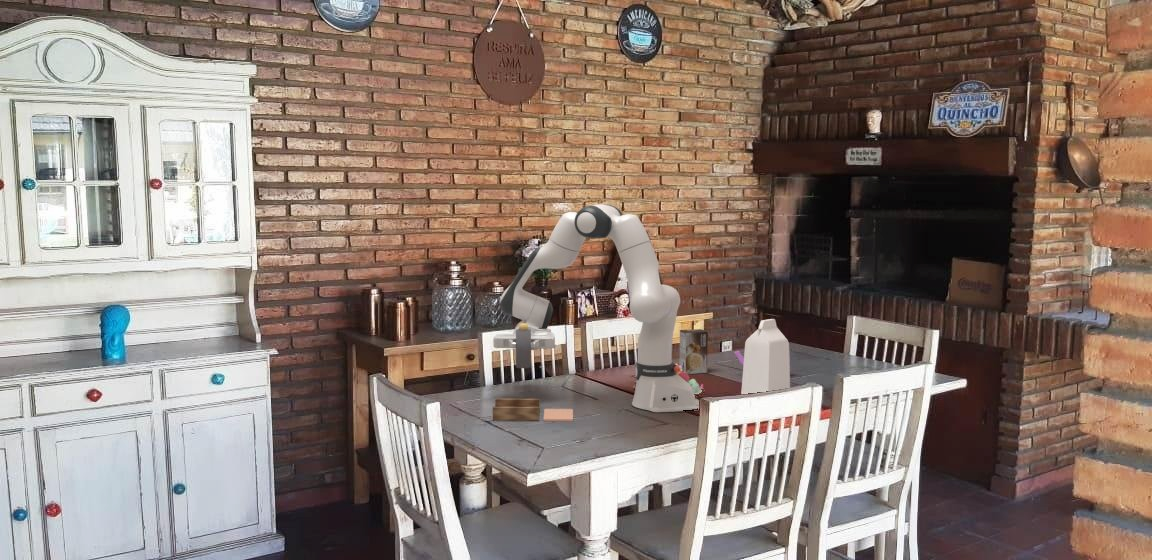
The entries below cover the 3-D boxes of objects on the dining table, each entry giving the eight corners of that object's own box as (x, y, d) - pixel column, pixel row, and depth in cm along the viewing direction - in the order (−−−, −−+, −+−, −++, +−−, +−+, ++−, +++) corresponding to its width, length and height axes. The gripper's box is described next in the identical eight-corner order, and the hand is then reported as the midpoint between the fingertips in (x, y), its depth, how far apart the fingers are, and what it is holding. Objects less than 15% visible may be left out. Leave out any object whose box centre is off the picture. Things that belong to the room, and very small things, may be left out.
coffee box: (700, 369, 347) (701, 328, 345) (707, 373, 341) (708, 331, 339) (678, 370, 344) (679, 329, 342) (685, 374, 338) (686, 332, 336)
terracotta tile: (572, 410, 285) (572, 409, 285) (573, 421, 273) (573, 419, 273) (544, 410, 285) (544, 408, 285) (543, 421, 273) (543, 419, 273)
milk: (767, 400, 300) (770, 324, 297) (741, 394, 309) (743, 319, 306) (790, 395, 307) (792, 320, 304) (763, 389, 316) (765, 316, 313)
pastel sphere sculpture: (623, 393, 310) (623, 366, 309) (649, 379, 331) (650, 355, 329) (691, 402, 298) (692, 375, 297) (714, 387, 319) (715, 362, 318)
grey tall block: (531, 365, 292) (531, 322, 290) (530, 368, 287) (530, 325, 285) (516, 365, 292) (516, 322, 290) (515, 368, 287) (515, 325, 285)
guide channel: (539, 411, 284) (539, 398, 284) (538, 420, 273) (538, 407, 273) (495, 410, 284) (495, 398, 284) (492, 420, 273) (492, 407, 273)
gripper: (494, 328, 301) (490, 336, 287) (555, 328, 301) (554, 336, 287) (494, 347, 302) (490, 355, 288) (555, 347, 302) (554, 355, 288)
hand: (523, 345), depth 288 cm, fingers closed on grey tall block, 5 cm apart
